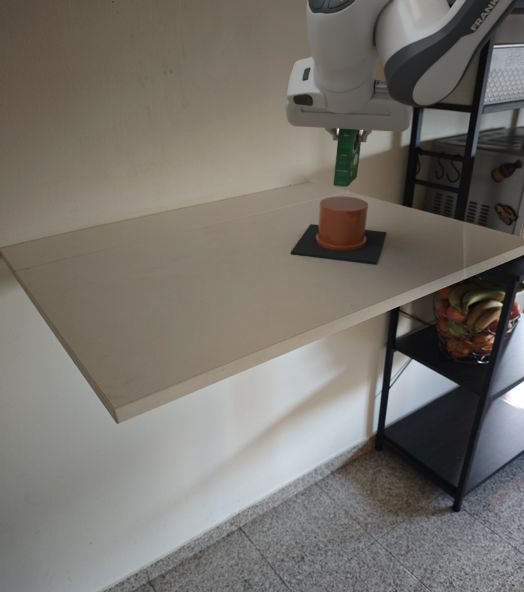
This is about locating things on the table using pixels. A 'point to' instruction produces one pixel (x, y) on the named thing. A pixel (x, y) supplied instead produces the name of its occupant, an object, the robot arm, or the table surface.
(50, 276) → the table surface
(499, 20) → the robot arm
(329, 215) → the stand
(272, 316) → the table surface
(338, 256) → the mat
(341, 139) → the coffee box
